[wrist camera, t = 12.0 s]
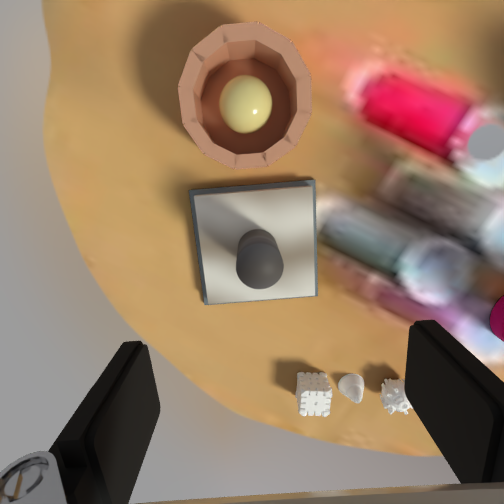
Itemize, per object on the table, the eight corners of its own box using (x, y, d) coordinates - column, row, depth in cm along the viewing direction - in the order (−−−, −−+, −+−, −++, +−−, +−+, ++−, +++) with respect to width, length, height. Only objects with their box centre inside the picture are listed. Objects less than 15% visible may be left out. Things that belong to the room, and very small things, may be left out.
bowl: (183, 53, 24) (169, 29, 20) (298, 43, 24) (309, 16, 20) (198, 171, 26) (189, 173, 22) (302, 162, 26) (313, 162, 22)
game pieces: (294, 393, 34) (298, 417, 31) (297, 368, 33) (301, 389, 30) (402, 396, 34) (417, 420, 31) (408, 371, 33) (424, 393, 30)
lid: (195, 195, 27) (181, 204, 21) (310, 185, 27) (327, 192, 21) (209, 299, 30) (200, 333, 24) (313, 291, 29) (328, 322, 24)
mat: (189, 189, 27) (188, 190, 27) (314, 179, 27) (315, 179, 26) (205, 303, 30) (204, 305, 30) (316, 294, 30) (317, 296, 30)
